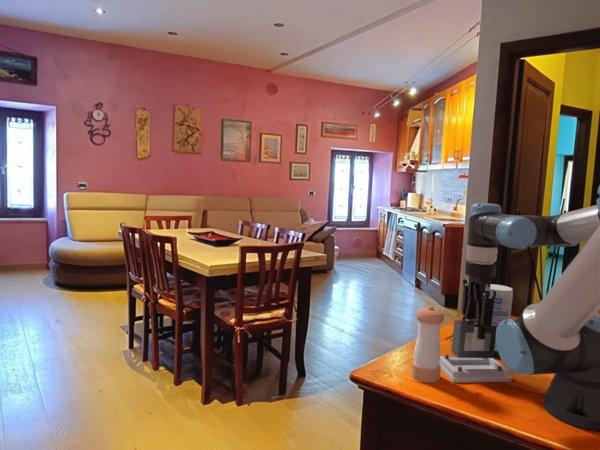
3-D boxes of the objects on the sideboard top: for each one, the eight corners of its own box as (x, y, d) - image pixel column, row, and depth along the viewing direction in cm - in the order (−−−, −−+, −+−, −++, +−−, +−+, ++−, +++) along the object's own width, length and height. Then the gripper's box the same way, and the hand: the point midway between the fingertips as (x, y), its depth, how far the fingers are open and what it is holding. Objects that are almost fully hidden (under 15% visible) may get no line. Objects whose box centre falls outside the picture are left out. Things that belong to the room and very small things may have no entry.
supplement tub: (488, 331, 157) (491, 290, 155) (475, 322, 166) (478, 283, 165) (514, 332, 158) (518, 290, 156) (500, 323, 167) (504, 284, 166)
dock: (511, 381, 119) (512, 370, 118) (453, 382, 117) (454, 370, 116) (487, 362, 130) (488, 351, 130) (434, 363, 129) (435, 352, 128)
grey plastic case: (493, 358, 122) (497, 326, 121) (458, 357, 121) (461, 325, 120) (486, 352, 126) (489, 320, 125) (451, 351, 125) (454, 320, 124)
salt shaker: (410, 369, 124) (415, 301, 122) (438, 372, 123) (443, 303, 120) (412, 381, 117) (417, 308, 115) (441, 384, 115) (447, 311, 113)
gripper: (512, 268, 112) (504, 359, 115) (478, 255, 129) (471, 334, 132) (484, 268, 111) (476, 359, 114) (453, 255, 128) (446, 334, 131)
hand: (473, 346), depth 123 cm, fingers closed on grey plastic case, 4 cm apart
